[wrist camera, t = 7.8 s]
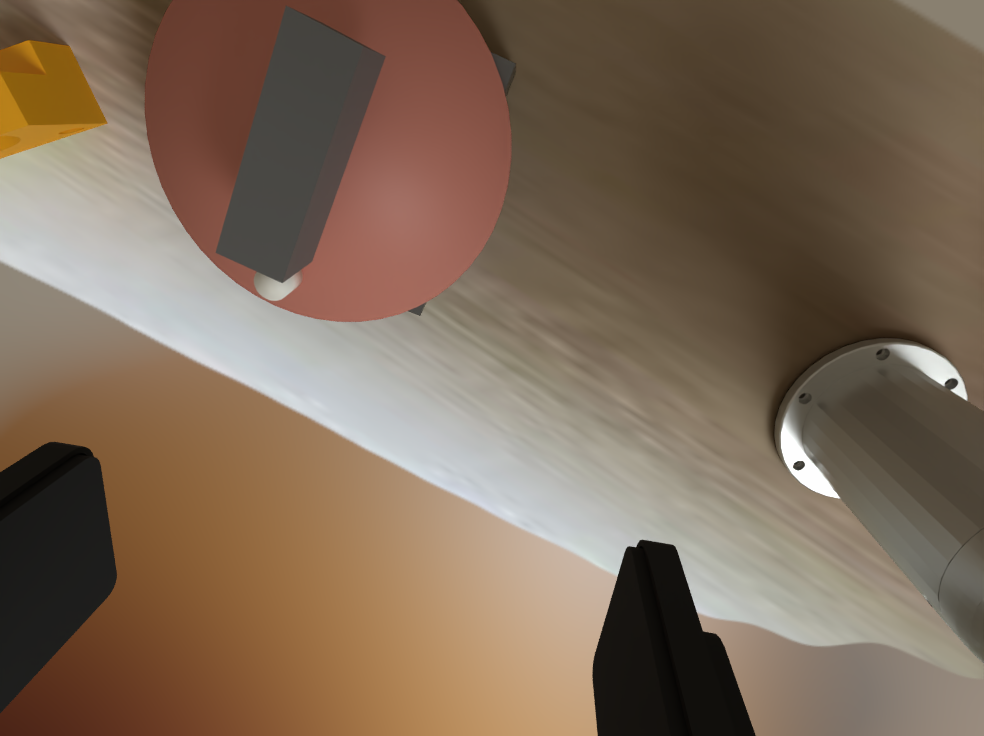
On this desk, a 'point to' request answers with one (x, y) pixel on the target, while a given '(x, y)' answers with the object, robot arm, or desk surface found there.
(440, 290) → the handwheel
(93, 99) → the pipe clamp
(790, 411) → the robot arm
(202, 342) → the desk surface
